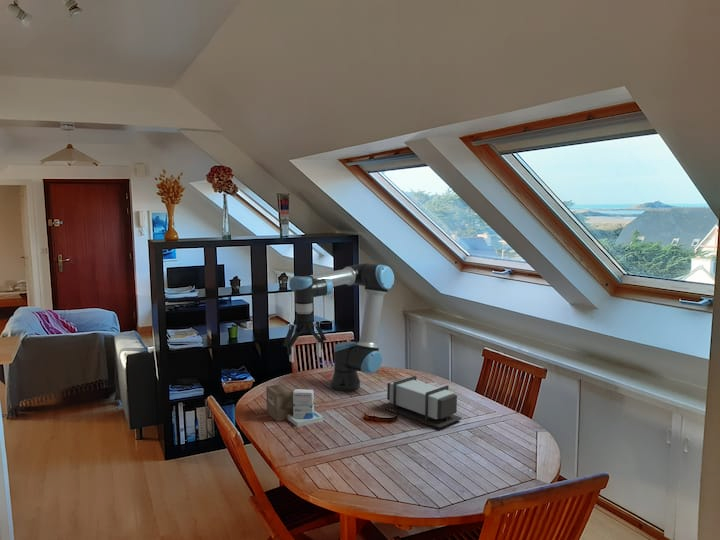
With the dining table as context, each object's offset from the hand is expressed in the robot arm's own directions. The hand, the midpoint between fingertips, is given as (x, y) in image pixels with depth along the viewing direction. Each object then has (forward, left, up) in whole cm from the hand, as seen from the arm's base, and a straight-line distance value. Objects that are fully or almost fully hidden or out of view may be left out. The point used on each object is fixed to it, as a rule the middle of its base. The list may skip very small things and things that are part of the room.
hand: (305, 359), depth 250 cm
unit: (+11, -3, -25) cm, 27 cm away
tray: (+4, +7, -25) cm, 26 cm away
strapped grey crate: (-43, +28, -25) cm, 58 cm away
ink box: (+4, +6, -24) cm, 25 cm away
